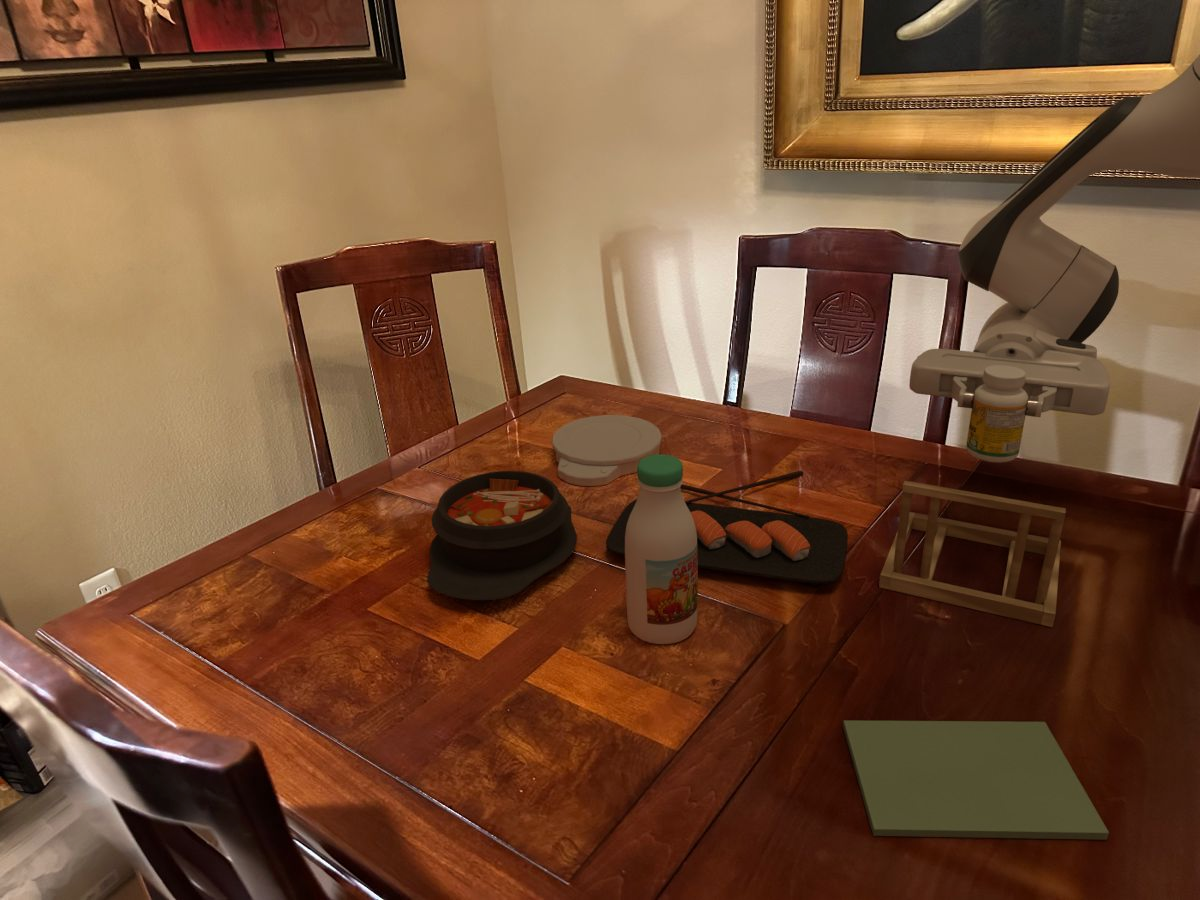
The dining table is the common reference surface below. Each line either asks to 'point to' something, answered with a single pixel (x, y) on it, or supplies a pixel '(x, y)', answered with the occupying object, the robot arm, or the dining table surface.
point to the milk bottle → (661, 555)
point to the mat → (969, 781)
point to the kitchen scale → (603, 448)
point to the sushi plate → (758, 539)
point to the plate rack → (1016, 541)
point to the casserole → (498, 535)
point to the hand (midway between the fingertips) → (999, 405)
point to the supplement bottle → (998, 415)
